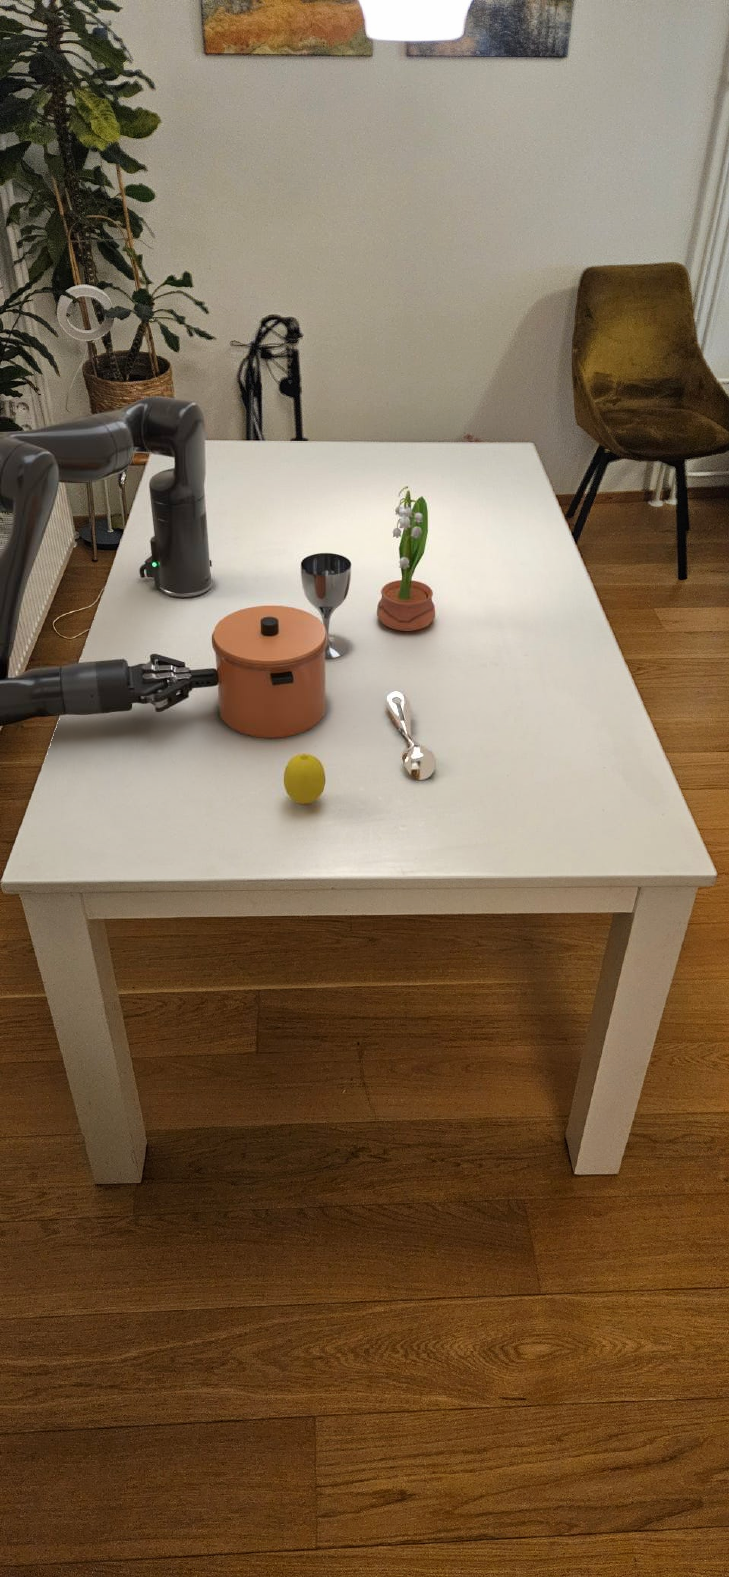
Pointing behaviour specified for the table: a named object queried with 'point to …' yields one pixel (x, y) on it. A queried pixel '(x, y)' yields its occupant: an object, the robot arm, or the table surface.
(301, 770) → the lemon
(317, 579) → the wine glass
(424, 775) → the silver elongated piece
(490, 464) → the table surface
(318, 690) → the copper pot
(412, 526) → the potted flower
